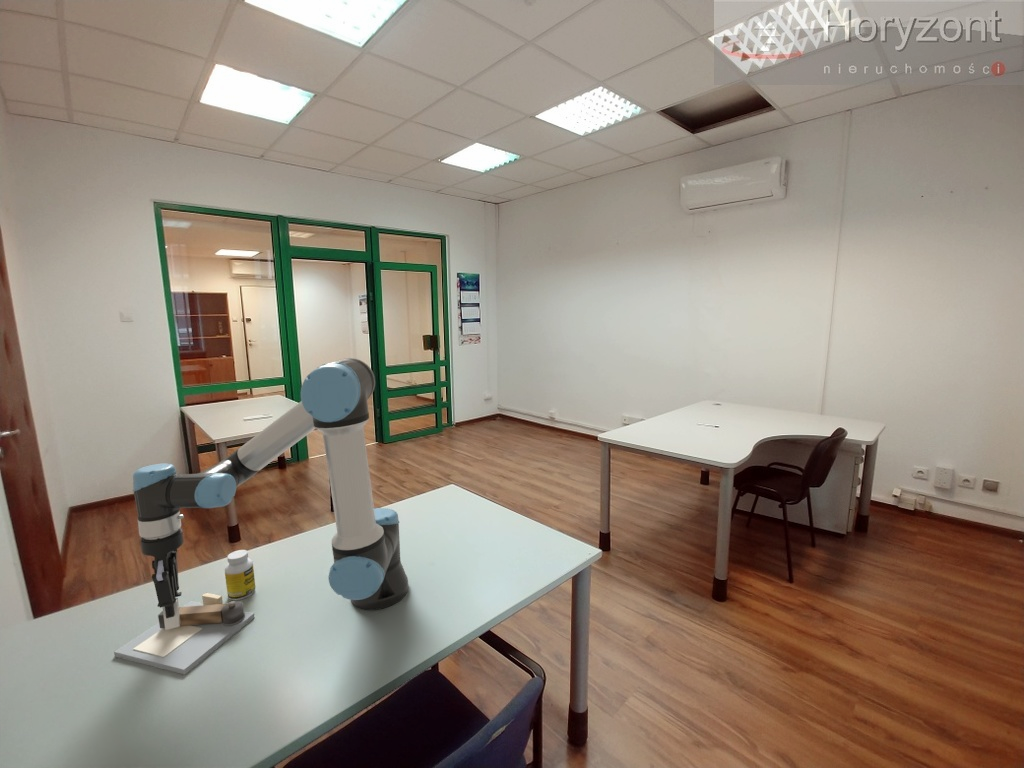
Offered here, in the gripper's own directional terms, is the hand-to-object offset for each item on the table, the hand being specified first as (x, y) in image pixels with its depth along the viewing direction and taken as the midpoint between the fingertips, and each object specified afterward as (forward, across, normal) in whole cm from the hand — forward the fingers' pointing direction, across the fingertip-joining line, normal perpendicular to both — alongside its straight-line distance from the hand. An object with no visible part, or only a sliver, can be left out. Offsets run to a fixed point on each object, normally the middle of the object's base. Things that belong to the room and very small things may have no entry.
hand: (173, 626), depth 103 cm
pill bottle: (+2, +11, -13) cm, 17 cm away
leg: (+1, 0, -6) cm, 6 cm away
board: (+3, -2, -3) cm, 4 cm away
